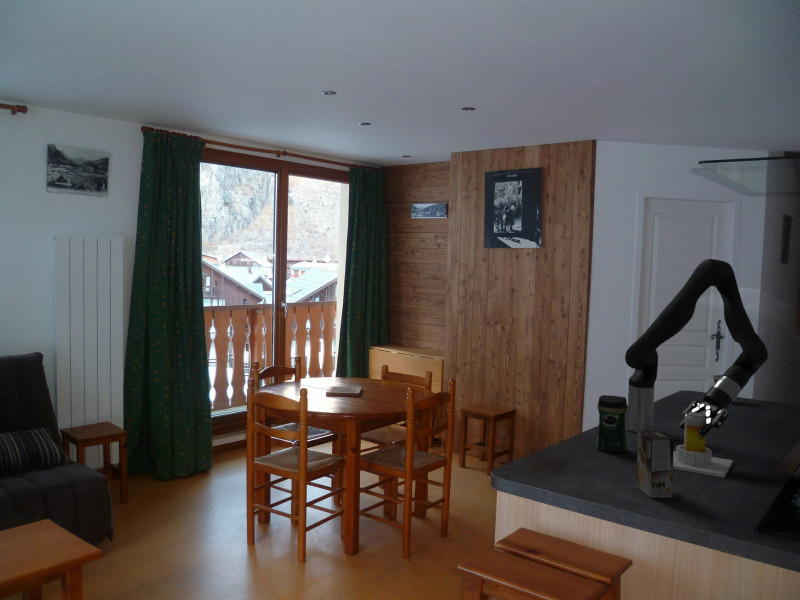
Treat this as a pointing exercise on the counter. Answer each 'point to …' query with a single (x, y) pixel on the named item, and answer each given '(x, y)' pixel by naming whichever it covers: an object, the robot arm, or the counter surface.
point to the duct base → (706, 470)
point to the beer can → (694, 432)
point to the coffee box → (655, 464)
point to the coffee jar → (612, 423)
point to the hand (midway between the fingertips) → (690, 431)
